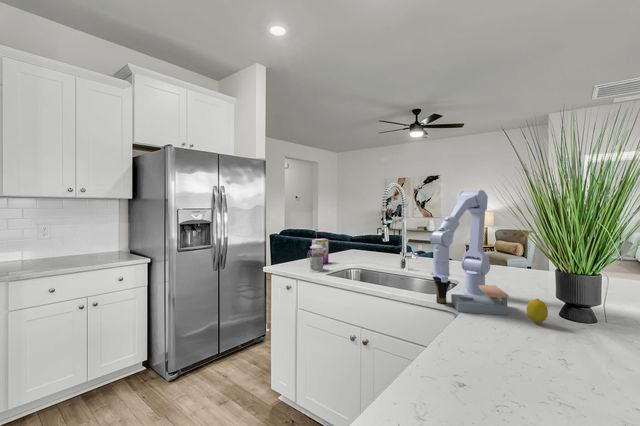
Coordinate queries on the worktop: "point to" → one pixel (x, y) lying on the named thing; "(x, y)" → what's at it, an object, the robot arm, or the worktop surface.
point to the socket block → (482, 301)
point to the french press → (316, 258)
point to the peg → (439, 300)
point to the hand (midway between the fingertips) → (441, 296)
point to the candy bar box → (322, 250)
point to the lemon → (537, 311)
